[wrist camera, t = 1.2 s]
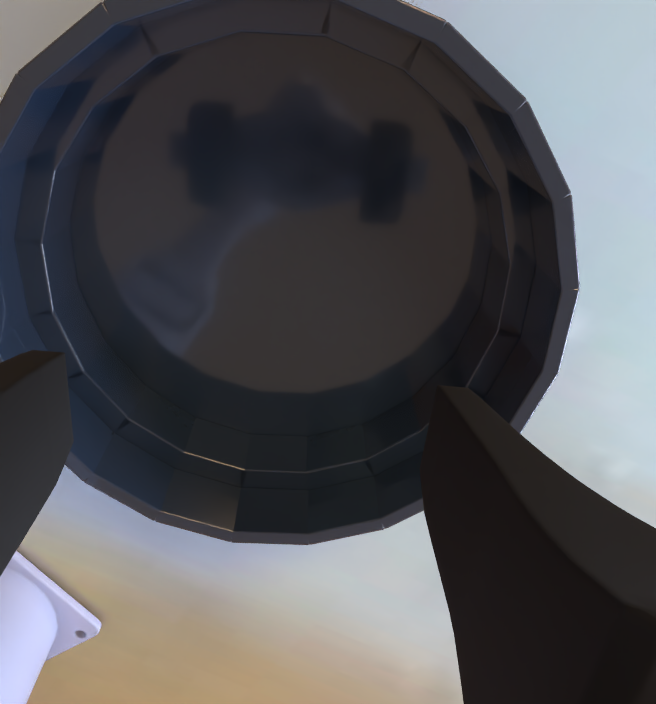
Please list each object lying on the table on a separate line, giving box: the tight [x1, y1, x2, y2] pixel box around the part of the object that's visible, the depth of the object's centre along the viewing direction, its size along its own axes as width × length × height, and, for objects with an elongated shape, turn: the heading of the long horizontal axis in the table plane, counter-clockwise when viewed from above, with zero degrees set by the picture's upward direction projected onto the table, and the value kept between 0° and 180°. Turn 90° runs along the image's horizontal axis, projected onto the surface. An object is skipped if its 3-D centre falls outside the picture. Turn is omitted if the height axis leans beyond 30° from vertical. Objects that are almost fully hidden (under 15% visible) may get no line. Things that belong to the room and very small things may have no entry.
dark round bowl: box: [0, 0, 580, 545], centre depth 19 cm, size 16×16×5 cm
